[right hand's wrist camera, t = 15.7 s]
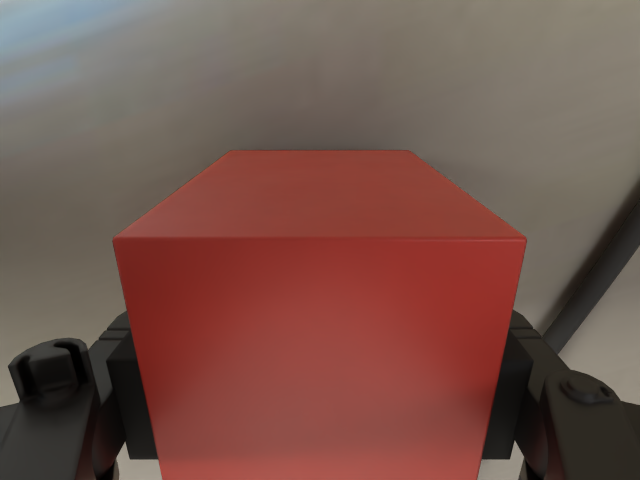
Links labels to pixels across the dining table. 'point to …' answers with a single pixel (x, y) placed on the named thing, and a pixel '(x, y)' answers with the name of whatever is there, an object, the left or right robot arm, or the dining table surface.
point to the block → (319, 318)
